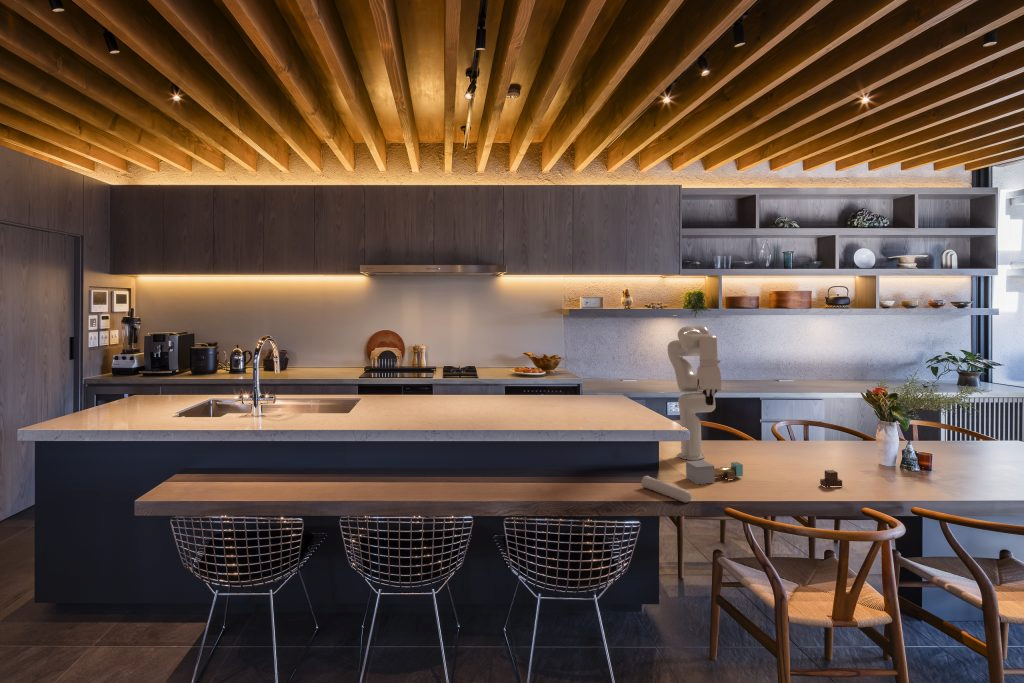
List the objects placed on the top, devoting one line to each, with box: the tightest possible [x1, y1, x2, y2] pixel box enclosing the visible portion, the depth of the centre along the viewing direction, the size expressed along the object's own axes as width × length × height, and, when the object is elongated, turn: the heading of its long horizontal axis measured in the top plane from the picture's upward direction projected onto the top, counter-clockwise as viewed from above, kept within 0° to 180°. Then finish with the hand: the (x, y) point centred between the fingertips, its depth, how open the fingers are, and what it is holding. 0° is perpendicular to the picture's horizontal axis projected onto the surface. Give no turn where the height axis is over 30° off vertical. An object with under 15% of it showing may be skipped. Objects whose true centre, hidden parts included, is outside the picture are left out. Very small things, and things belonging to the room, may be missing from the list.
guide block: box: [719, 466, 736, 480], centre depth 263 cm, size 7×3×4 cm, turn 9°
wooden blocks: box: [819, 469, 843, 487], centre depth 244 cm, size 15×15×7 cm
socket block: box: [685, 459, 716, 486], centre depth 261 cm, size 10×8×8 cm
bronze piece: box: [714, 461, 744, 478], centre depth 262 cm, size 4×18×5 cm, turn 99°
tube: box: [641, 475, 692, 503], centre depth 244 cm, size 5×5×25 cm
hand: (709, 404), depth 268 cm, fingers closed
